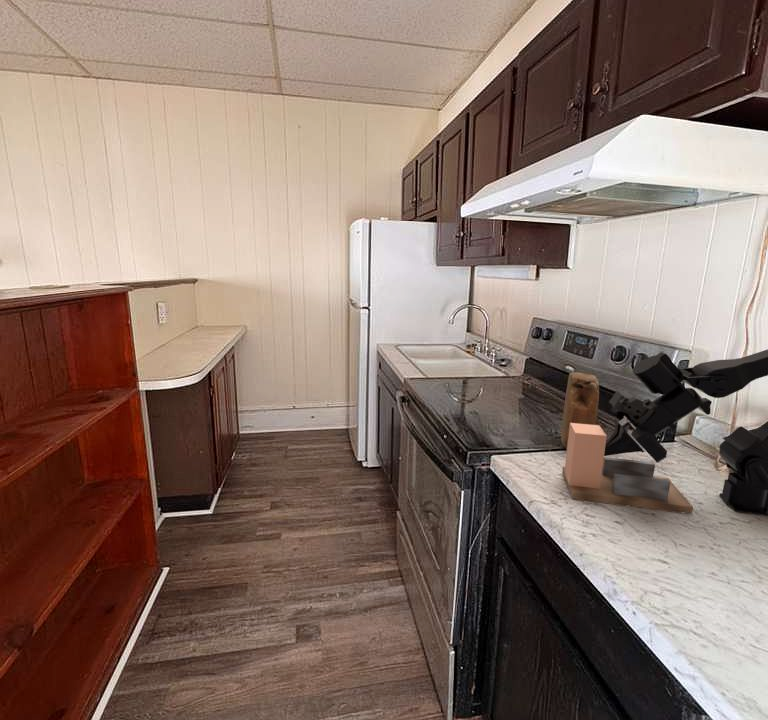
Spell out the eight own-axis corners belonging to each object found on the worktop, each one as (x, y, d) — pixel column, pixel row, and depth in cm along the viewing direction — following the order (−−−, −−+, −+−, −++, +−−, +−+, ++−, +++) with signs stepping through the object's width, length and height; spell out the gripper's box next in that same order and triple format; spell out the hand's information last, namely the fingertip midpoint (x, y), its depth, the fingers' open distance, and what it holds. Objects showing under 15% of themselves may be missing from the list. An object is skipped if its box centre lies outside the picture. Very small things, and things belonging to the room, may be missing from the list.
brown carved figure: (559, 437, 119) (567, 369, 115) (588, 441, 117) (597, 372, 112) (562, 453, 109) (570, 379, 105) (593, 458, 107) (603, 382, 102)
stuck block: (592, 475, 95) (599, 425, 92) (599, 488, 89) (606, 435, 86) (564, 472, 96) (569, 422, 93) (569, 485, 90) (575, 432, 88)
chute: (666, 484, 94) (670, 461, 93) (691, 513, 83) (696, 488, 82) (562, 472, 99) (564, 450, 98) (572, 498, 88) (575, 474, 87)
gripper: (625, 370, 94) (567, 412, 99) (657, 393, 77) (585, 443, 82) (659, 406, 94) (599, 446, 99) (699, 438, 77) (624, 485, 81)
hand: (601, 453), depth 90 cm, fingers closed, pressing on stuck block
